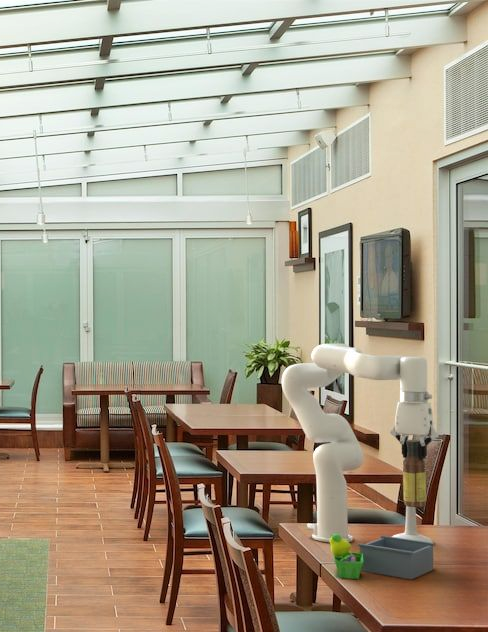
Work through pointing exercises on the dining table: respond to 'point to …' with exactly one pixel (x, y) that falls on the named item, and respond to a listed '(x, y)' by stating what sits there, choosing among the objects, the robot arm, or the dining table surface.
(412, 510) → the candlestick
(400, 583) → the dining table surface
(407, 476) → the sauce bottle
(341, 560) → the fruit basket
